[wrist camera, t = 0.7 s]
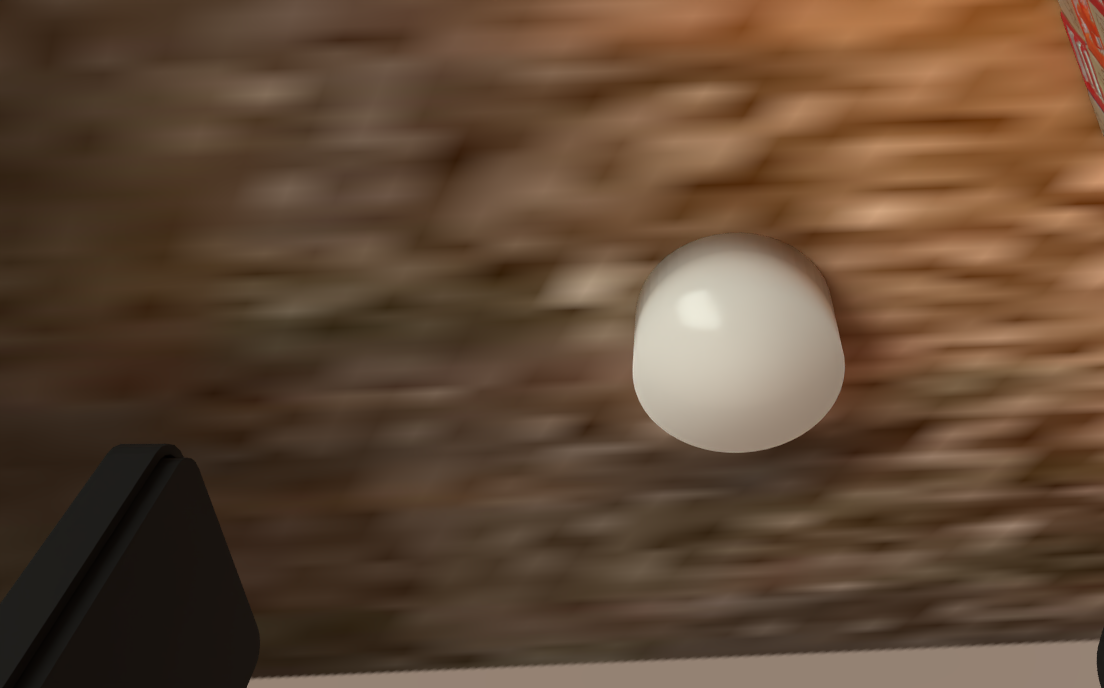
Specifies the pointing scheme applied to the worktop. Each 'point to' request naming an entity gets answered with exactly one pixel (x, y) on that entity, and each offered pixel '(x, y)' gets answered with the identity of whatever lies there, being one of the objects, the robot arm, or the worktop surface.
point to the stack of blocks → (1088, 46)
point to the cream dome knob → (736, 344)
